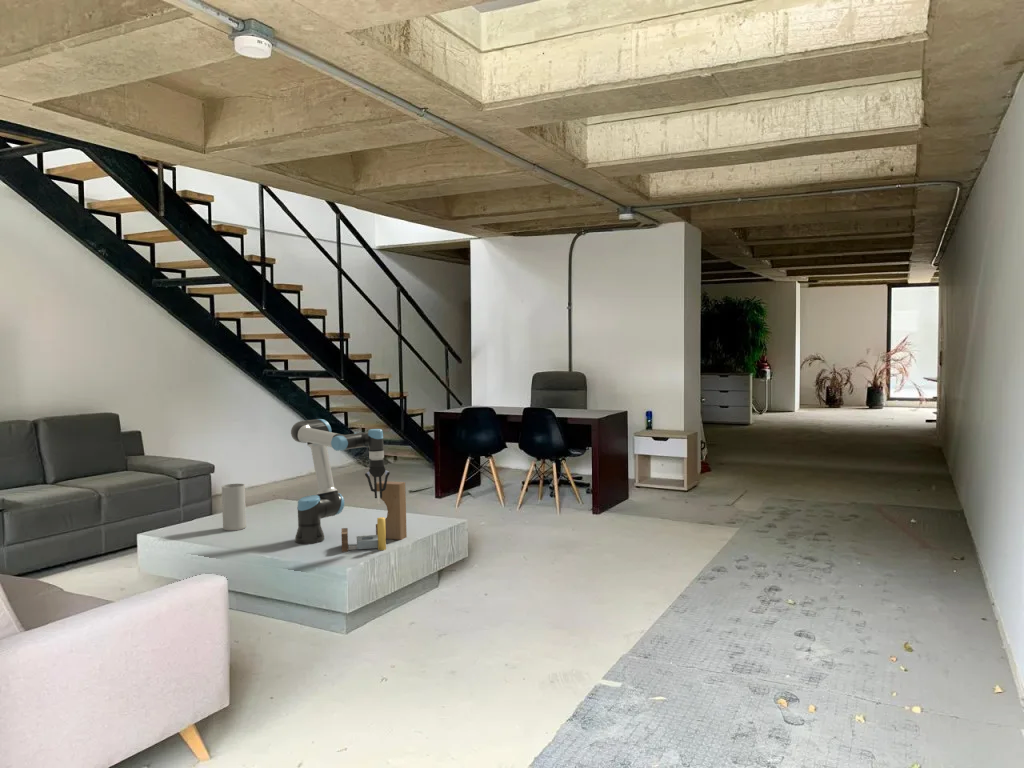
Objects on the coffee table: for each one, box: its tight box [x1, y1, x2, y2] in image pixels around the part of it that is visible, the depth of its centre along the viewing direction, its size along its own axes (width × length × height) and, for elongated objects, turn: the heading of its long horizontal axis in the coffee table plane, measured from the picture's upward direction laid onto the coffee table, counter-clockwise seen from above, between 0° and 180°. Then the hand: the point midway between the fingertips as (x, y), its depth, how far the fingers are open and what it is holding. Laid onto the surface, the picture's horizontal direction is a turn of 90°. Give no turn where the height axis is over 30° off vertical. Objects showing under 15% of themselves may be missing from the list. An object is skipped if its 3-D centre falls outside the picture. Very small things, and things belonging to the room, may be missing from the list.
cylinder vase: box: [221, 483, 247, 532], centre depth 440 cm, size 12×12×25 cm
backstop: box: [340, 527, 349, 553], centre depth 392 cm, size 13×3×9 cm, turn 12°
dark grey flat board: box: [348, 544, 358, 551], centre depth 395 cm, size 8×19×1 cm, turn 102°
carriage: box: [356, 534, 378, 550], centre depth 395 cm, size 11×11×4 cm
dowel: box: [376, 516, 387, 551], centre depth 389 cm, size 4×4×16 cm
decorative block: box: [375, 480, 408, 541], centre depth 412 cm, size 15×8×30 cm, turn 71°
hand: (378, 504), depth 395 cm, fingers closed
